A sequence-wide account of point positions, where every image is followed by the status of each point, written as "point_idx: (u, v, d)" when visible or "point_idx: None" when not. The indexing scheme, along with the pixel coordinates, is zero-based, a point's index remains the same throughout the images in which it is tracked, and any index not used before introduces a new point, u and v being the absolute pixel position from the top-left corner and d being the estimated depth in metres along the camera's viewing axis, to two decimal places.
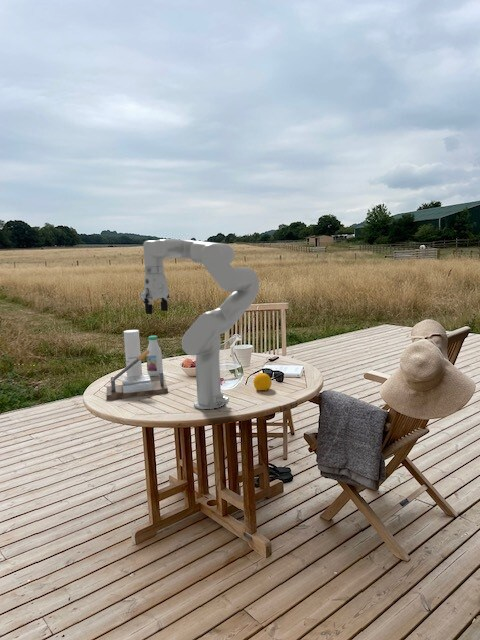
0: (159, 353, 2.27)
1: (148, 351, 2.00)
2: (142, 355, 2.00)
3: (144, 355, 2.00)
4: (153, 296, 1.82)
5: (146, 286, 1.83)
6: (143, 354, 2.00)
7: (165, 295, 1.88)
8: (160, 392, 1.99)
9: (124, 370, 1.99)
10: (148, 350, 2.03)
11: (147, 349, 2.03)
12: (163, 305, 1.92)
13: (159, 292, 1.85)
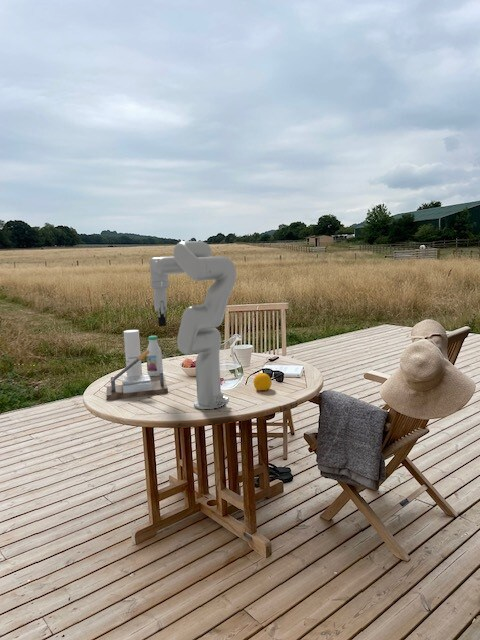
0: (159, 353, 2.27)
1: (148, 351, 2.00)
2: (142, 355, 2.00)
3: (144, 355, 2.00)
4: None
5: None
6: (143, 354, 2.00)
7: (155, 309, 2.00)
8: (160, 392, 1.99)
9: (124, 370, 1.99)
10: (148, 350, 2.03)
11: (147, 349, 2.03)
12: None
13: (154, 304, 2.03)
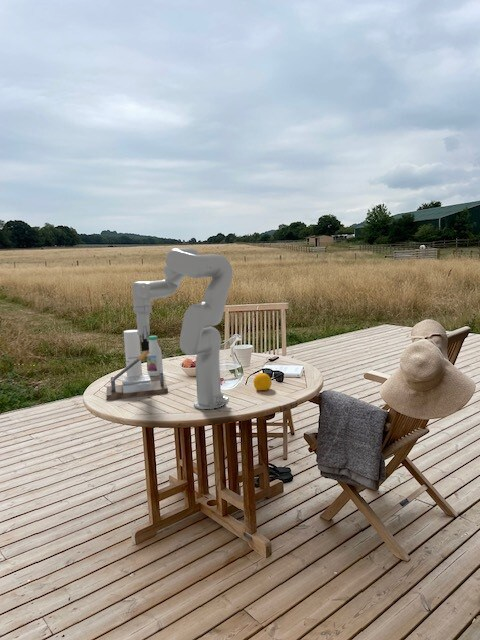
0: (159, 353, 2.27)
1: (148, 351, 2.00)
2: (142, 355, 2.00)
3: (144, 355, 2.00)
4: None
5: None
6: (143, 354, 2.00)
7: (138, 334, 1.97)
8: (160, 392, 1.99)
9: (124, 370, 1.99)
10: (148, 350, 2.03)
11: None
12: None
13: (137, 329, 2.00)
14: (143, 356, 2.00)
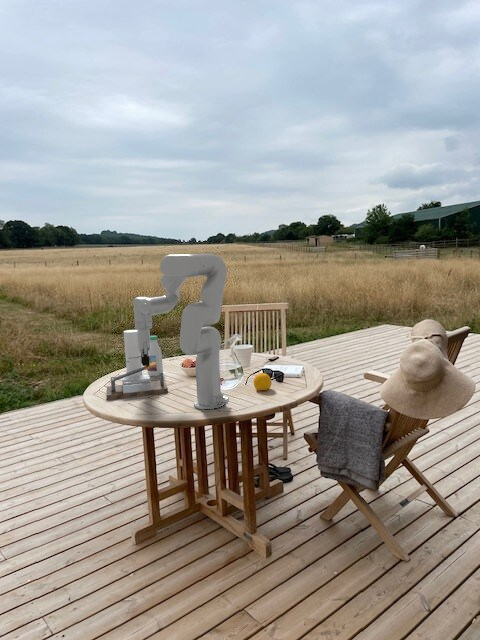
0: (159, 353, 2.27)
1: (156, 364, 2.02)
2: (149, 366, 2.01)
3: (151, 366, 2.01)
4: None
5: None
6: (150, 365, 2.02)
7: (138, 349, 1.98)
8: (160, 392, 1.99)
9: (127, 374, 1.99)
10: (155, 363, 2.05)
11: None
12: None
13: None
14: (149, 367, 2.01)
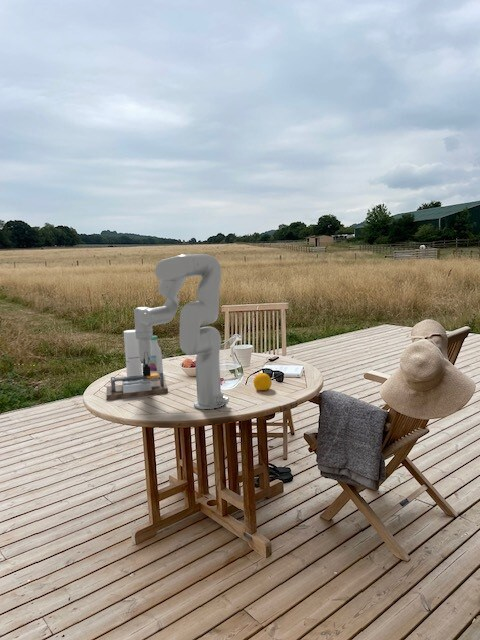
0: (159, 353, 2.27)
1: (158, 375, 2.03)
2: (151, 375, 2.02)
3: (153, 376, 2.02)
4: None
5: None
6: (152, 375, 2.02)
7: (139, 359, 1.99)
8: (160, 392, 1.99)
9: (128, 378, 2.00)
10: (158, 374, 2.06)
11: None
12: None
13: None
14: (152, 376, 2.02)
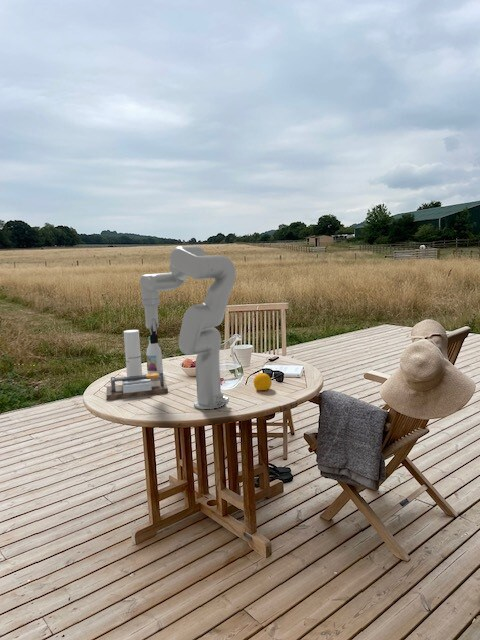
0: (159, 353, 2.27)
1: (158, 375, 2.03)
2: (151, 375, 2.02)
3: (153, 376, 2.02)
4: None
5: None
6: (152, 375, 2.02)
7: (147, 326, 1.98)
8: (160, 392, 1.99)
9: (128, 378, 2.00)
10: (158, 374, 2.06)
11: None
12: None
13: None
14: (152, 376, 2.02)
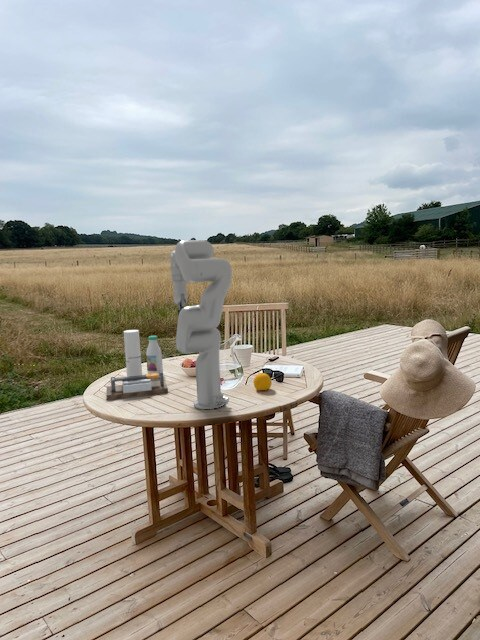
0: (159, 353, 2.27)
1: (158, 375, 2.03)
2: (151, 375, 2.02)
3: (153, 376, 2.02)
4: None
5: None
6: (152, 375, 2.02)
7: (175, 302, 2.03)
8: (160, 392, 1.99)
9: (128, 378, 2.00)
10: (158, 374, 2.06)
11: None
12: None
13: (174, 297, 2.06)
14: (152, 376, 2.02)
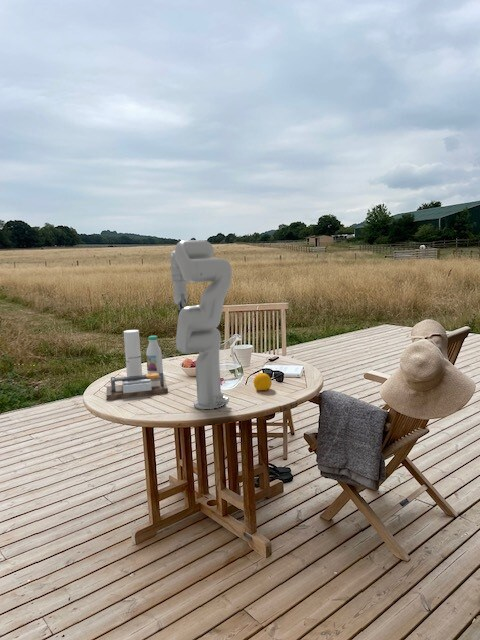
0: (159, 353, 2.27)
1: (158, 375, 2.03)
2: (151, 375, 2.02)
3: (153, 376, 2.02)
4: None
5: None
6: (152, 375, 2.02)
7: (176, 302, 2.03)
8: (160, 392, 1.99)
9: (128, 378, 2.00)
10: (158, 374, 2.06)
11: None
12: None
13: (174, 297, 2.06)
14: (152, 376, 2.02)
